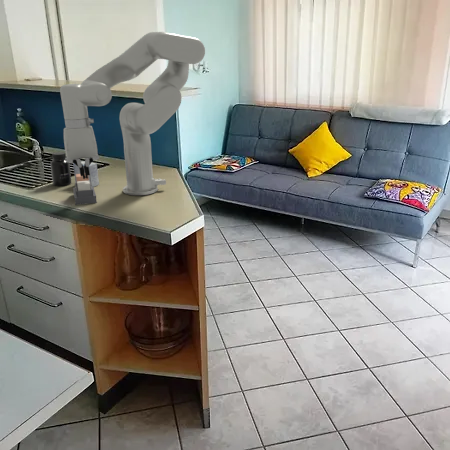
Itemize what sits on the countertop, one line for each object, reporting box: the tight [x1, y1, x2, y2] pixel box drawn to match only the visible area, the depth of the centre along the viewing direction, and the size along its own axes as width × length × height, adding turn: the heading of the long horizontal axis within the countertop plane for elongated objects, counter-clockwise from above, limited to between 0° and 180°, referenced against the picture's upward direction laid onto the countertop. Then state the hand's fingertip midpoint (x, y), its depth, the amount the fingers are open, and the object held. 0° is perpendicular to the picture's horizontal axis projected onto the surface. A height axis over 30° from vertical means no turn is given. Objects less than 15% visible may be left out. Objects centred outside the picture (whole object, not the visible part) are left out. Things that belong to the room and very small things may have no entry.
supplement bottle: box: [50, 151, 72, 187], centre depth 181 cm, size 7×7×12 cm
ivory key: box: [77, 180, 91, 191], centre depth 161 cm, size 4×4×3 cm
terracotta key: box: [76, 174, 89, 181], centre depth 166 cm, size 4×4×3 cm
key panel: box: [72, 182, 98, 206], centre depth 165 cm, size 7×12×4 cm, turn 19°
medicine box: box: [72, 160, 100, 188], centre depth 180 cm, size 8×4×9 cm, turn 66°
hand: (85, 177), depth 161 cm, fingers closed
